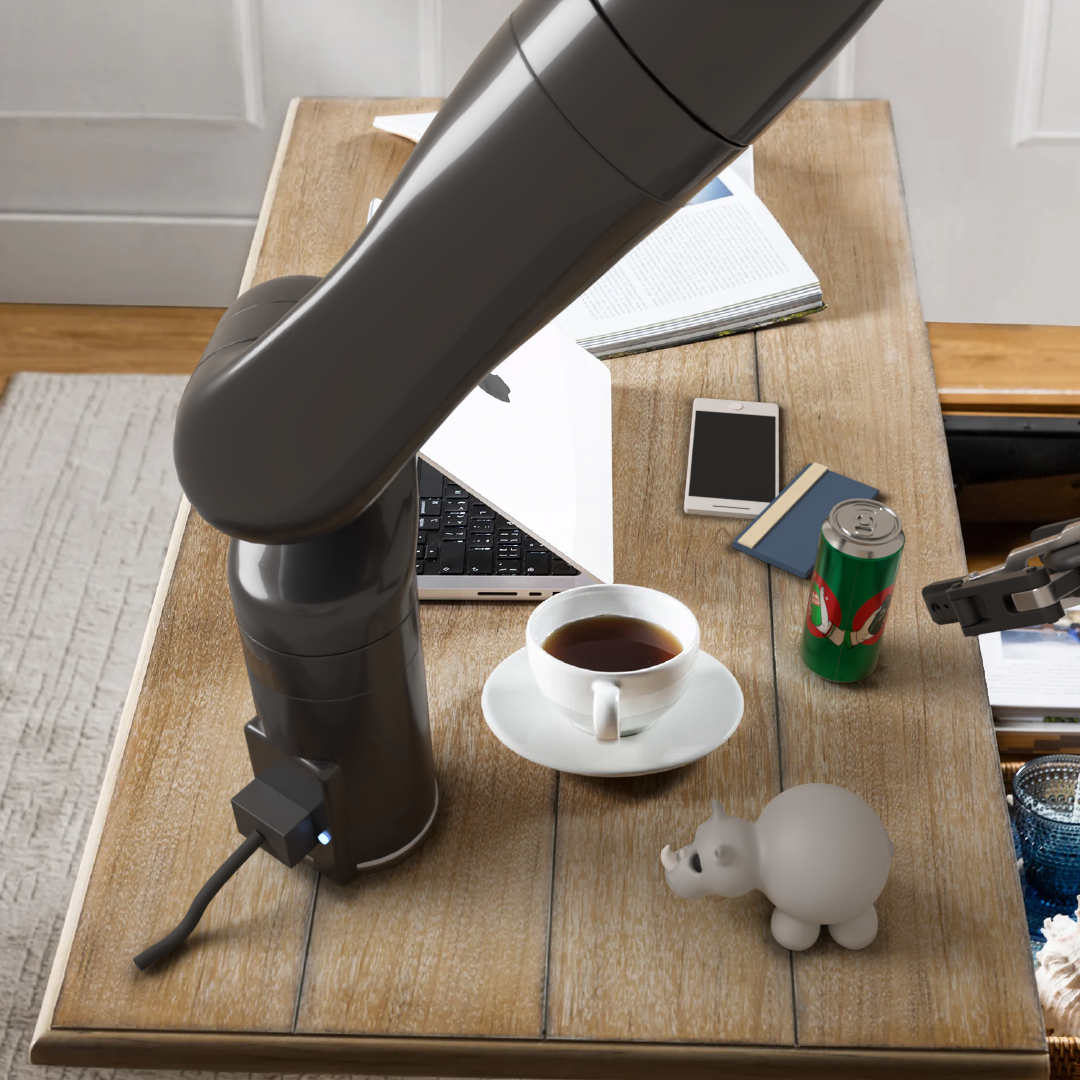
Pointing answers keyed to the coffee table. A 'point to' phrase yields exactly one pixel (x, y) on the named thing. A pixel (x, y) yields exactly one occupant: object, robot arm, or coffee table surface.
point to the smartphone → (732, 458)
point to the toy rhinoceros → (794, 863)
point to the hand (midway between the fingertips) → (986, 575)
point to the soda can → (851, 589)
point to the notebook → (799, 519)
